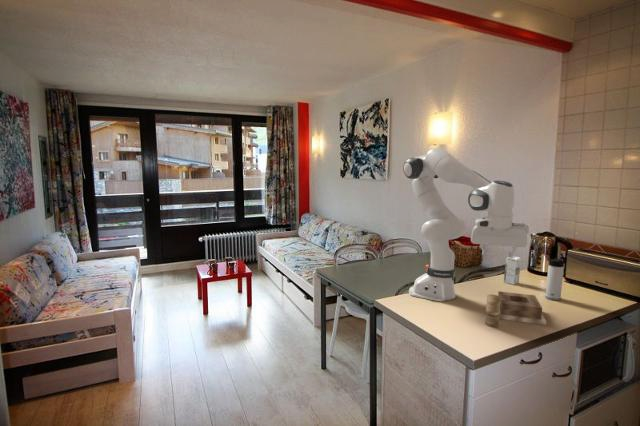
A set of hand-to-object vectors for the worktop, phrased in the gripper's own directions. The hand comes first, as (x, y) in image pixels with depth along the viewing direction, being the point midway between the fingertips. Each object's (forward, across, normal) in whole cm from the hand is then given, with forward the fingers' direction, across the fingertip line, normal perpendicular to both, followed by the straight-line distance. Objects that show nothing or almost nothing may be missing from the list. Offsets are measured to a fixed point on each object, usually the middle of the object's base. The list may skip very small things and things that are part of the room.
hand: (497, 256), depth 147 cm
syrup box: (+29, -15, -59) cm, 68 cm away
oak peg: (+29, 0, 0) cm, 29 cm away
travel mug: (+29, -31, -41) cm, 59 cm away
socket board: (+29, -12, -16) cm, 35 cm away
